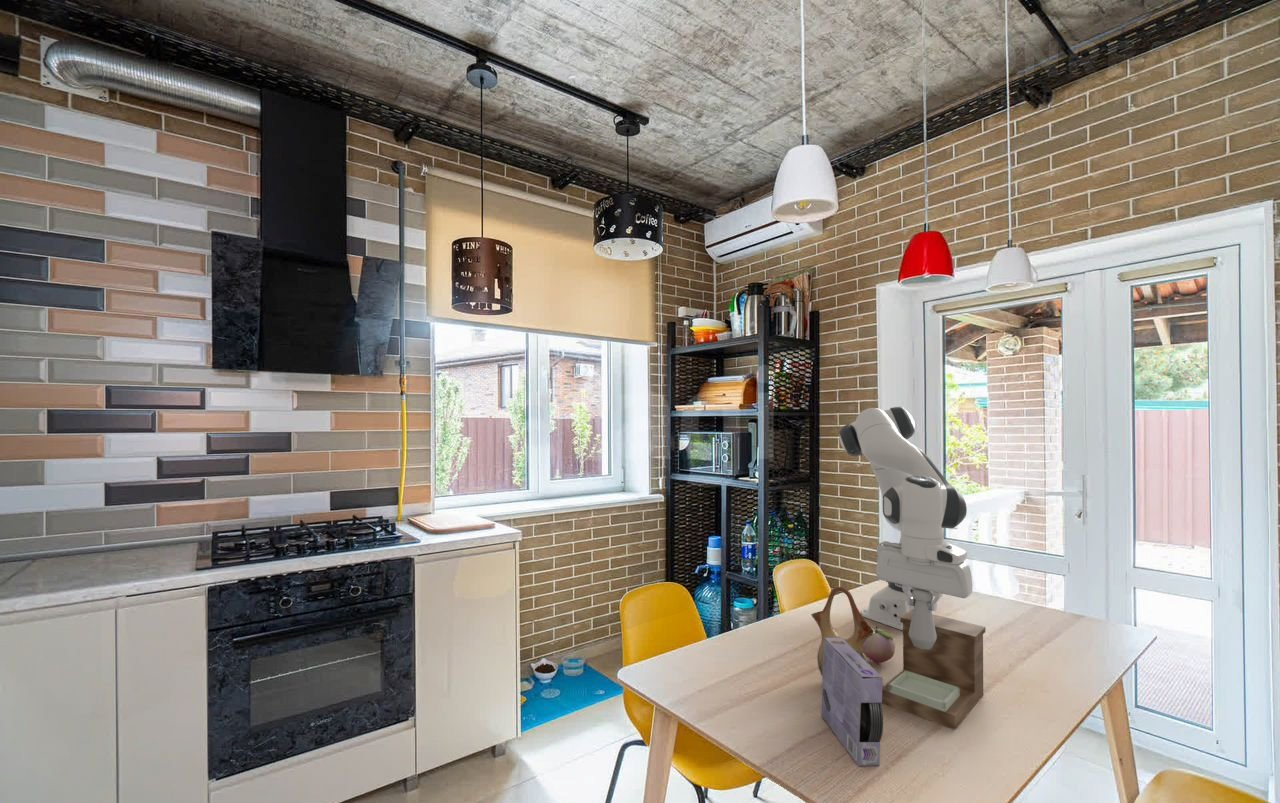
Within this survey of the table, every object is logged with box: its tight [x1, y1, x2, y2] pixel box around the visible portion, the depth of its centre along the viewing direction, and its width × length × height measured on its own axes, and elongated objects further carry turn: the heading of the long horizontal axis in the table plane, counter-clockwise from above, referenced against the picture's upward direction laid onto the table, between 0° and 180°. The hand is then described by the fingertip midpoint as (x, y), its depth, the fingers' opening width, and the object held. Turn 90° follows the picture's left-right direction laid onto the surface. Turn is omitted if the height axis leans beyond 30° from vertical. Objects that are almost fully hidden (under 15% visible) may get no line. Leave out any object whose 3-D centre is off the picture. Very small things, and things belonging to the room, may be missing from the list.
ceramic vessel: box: [811, 586, 875, 678], centre depth 138 cm, size 16×9×25 cm, turn 40°
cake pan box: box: [820, 638, 884, 767], centre depth 116 cm, size 19×5×18 cm, turn 5°
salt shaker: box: [909, 588, 937, 649], centre depth 130 cm, size 6×6×13 cm
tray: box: [889, 670, 960, 712], centre depth 130 cm, size 12×10×2 cm
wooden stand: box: [881, 609, 986, 730], centre depth 134 cm, size 17×22×16 cm
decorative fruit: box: [862, 625, 896, 664], centre depth 152 cm, size 9×8×10 cm
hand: (921, 607), depth 130 cm, fingers closed on salt shaker, 3 cm apart
